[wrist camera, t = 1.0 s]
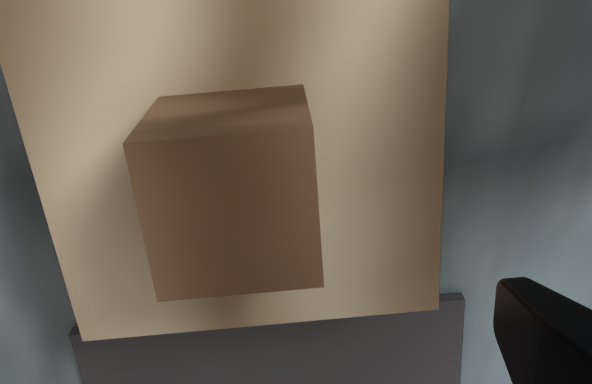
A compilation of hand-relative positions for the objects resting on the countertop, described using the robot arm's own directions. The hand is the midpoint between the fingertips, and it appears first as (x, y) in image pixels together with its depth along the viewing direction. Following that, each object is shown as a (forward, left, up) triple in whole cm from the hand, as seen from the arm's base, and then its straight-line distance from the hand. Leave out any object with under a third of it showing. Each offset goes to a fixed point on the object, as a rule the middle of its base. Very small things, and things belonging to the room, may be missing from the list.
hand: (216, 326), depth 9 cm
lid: (0, 0, -9) cm, 9 cm away
